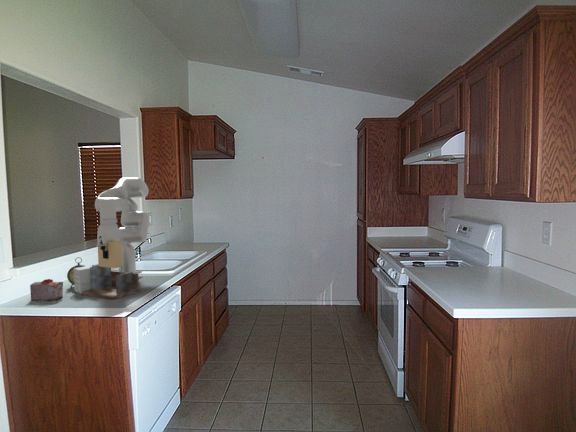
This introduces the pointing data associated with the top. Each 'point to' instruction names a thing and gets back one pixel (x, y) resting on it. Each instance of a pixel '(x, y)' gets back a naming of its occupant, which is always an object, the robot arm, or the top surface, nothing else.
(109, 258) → the book
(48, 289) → the food item
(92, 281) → the shelf
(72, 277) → the alarm clock
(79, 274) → the supplement box
